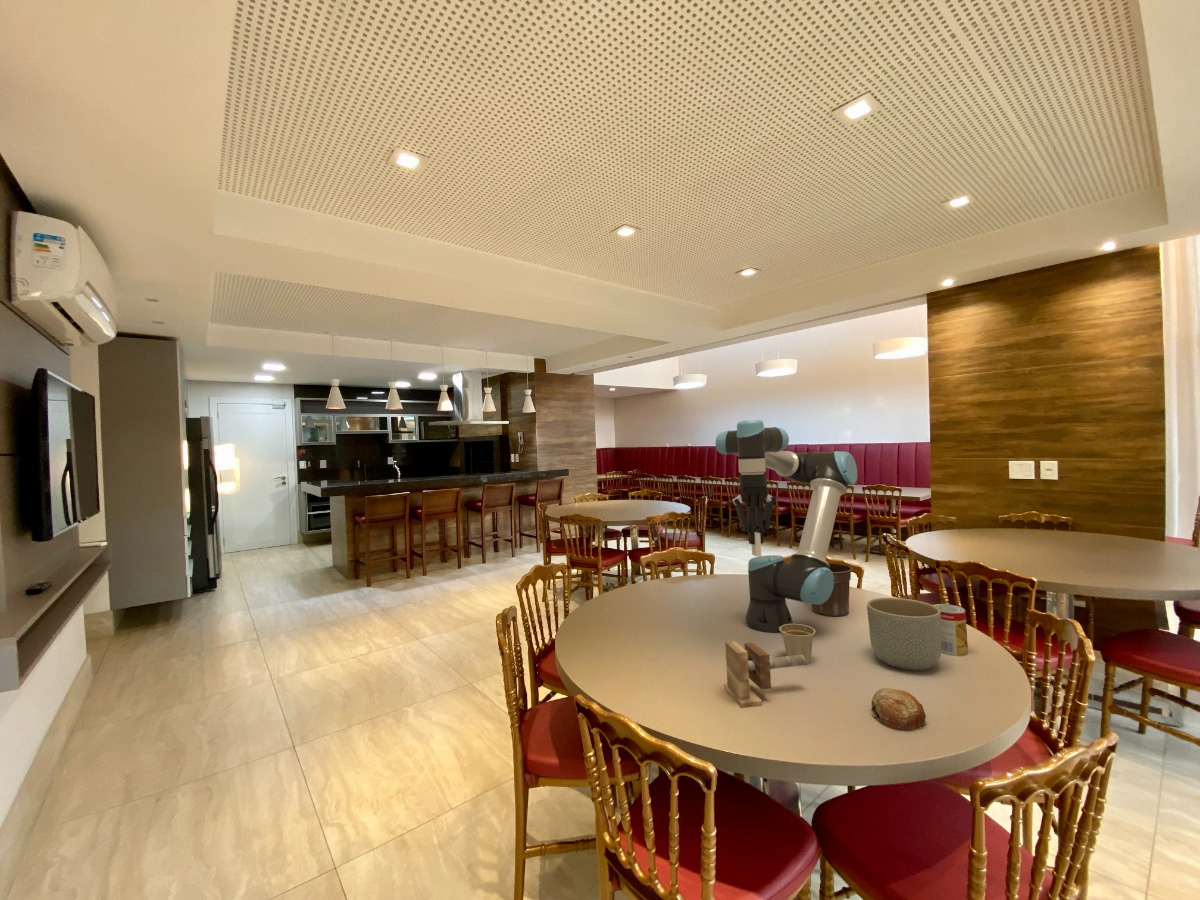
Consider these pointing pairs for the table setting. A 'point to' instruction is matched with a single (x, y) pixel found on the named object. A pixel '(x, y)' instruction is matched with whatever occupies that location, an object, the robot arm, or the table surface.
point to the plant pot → (837, 592)
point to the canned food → (953, 630)
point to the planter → (905, 632)
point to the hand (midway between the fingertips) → (756, 555)
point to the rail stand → (740, 676)
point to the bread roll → (897, 709)
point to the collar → (759, 665)
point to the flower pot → (798, 640)
